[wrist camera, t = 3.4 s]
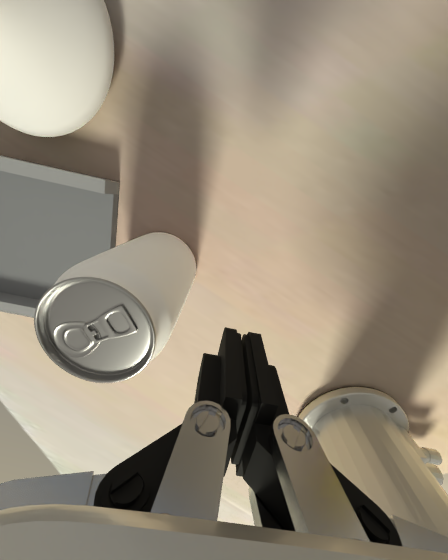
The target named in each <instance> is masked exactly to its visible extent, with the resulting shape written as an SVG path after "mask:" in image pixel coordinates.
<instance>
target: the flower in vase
mask: <svg viewBox="0 0 448 560" xmlns="http://www.w3.org/2000/svg"><path fill="white" fill-rule="evenodd" d="M113 68H114V39H113V31H112V26H111V22H110V17H109V14H108V11H107V8H106V4H105V2H104V0H0V121H1V122H3V123H5V124H6V125H8V126H10V127H11V128H14V129H16V130H18V131H20V132H23V133H26V134H30V135H33V136H40V137H56V136H63V135H66V134H69V133H72V132H74V131H76V130H78V129H79V128H81V127H82V126H84V125H85V124H86V123H88V122H89V121H90V120H91V119H92V118H93V117H94V116H95V114H96V113H97V112H98V110H99V109H100V107H101V106H102V104H103V102H104V100H105V98H106V96H107V93H108V90H109V88H110V85H111V80H112V75H113Z"/></svg>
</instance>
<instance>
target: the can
mask: <svg viewBox="0 0 448 560" xmlns="http://www.w3.org/2000/svg"><path fill="white" fill-rule="evenodd" d="M195 276H196V262H195V258H194V255H193V253H192V251H191V250H190V248H189V247H188V246H187V245H186V244H185V243H184V242H183V241H182V240H181V239H179V238H178V237H176V236H174V235H171V234H168V233H163V232H154V233H149V234H146V235H143V236H140V237H138V238H135V239H133V240H131V241H128V242H126V243H124V244H121V245H119V246H116V247H114V248H112V249H109V250H107V251H105V252H102V253H100V254H98V255H96V256H93V257H91V258H89V259H87V260H84V261H82V262H80V263H78V264H76V265H74V266H73V267H71V268H70V269H68V270H67V271H65V272H64V273H63V274H62V275H61V276H60V277H59V278H58V280H57V281H56V283H55V284H54V285H53V286H52V287H51V288H49V289H48V290H47V291H46V292H45V293H44V294H43V296H42V297H41V299H40V300H39V302H38V304H37V307H36V310H35V316H34V325H35V331H36V335H37V338H38V340H39V343H40V345H41V346H42V348H43V350H44V351H45V353H46V354H47V355H48V356H49V358H50V359H51V360H52V361H53V362H54V363H55V364H57V365H58V366H59V367H60V368H62V369H63V370H65V371H66V372H68V373H70V374H71V375H73V376H76V377H78V378H81V379H83V380H87V381H91V382H97V383H115V382H120V381H124V380H127V379H129V378H131V377H133V376H135V375H137V374H138V373H139V372H141V371H142V370H143V369H144V368H145V367H146V366H147V364H148V363H149V362H150V361H151V360H152V359H154V358H155V357H156V356H157V355H158V354H159V353H160V352H161V351H162V350H163V348H164V347H165V345H166V344H167V342H168V340H169V338H170V336H171V334H172V331H173V329H174V327H175V325H176V322H177V320H178V318H179V315H180V313H181V311H182V308H183V306H184V304H185V301H186V299H187V297H188V294H189V292H190V289H191V287H192V285H193V282H194V279H195Z"/></svg>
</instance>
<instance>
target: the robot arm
mask: <svg viewBox="0 0 448 560" xmlns="http://www.w3.org/2000/svg"><path fill="white" fill-rule="evenodd" d="M230 458H231V463H232V464H236V476H243V479H244V480H245V481H246V483H247V484H248V485H249V499H250V504H251V509H252V514H253V519H254V524H255V526H250V525H243V524H235V523H228V522H220V521H217V518H218V511H219V504H220V497H221V490H222V483H223V477H224V476H225V473H226V470H227V467H228V464H229V461H230ZM441 462H442V458H441V455H440V453H439V452H438V451H437V450H434V449H429V448H423V447H422V448H420V447H418V445H417V444H416V443H415V441H414V440H413V439H412V437H411V436H410V435H409V421H408V418H407V416H406V413H405V412H404V411H403V410H402V408H401V407H400V406H399V404H398V403H397V402H396V401H395V400H394V399H393V398H392V397H390V396H389V395H387V394H385V393H383V392H381V391H378V390H376V389H371V388H366V387H349V388H341V389H337V390H334V391H331V392H328V393H326V394H324V395H321V396H320V397H318V398H317V399H315V400H313V401H312V402H311V403H310V404H309V405H308V406H306V407H305V408H304V410H303V411H302V412H301V414H300V415H299V417H296V416H293V415H289V412H288V409H287V405H286V402H285V398H284V395H283V391H282V388H281V384H280V381H279V377H278V374H277V370H276V368H275V366H272V365H268V361H267V357H266V353H265V349H264V345H263V341H262V337H261V334H256V333H251V332H248V334H247V335H245V334H244V335H243V337H242V341H241V334H240V333H237V330H235V329H230V328H224V332H223V336H222V340H221V344H220V348H219V352H218V356H217V355H211V354H206V353H204V354H203V358H202V363H201V367H200V372H199V377H198V383H197V389H196V396H195V402H194V404H193V405H192V406H191V407H190V408H189V409H188V411H187V413H186V415H185V418H184V421H183V423H182V424H181V425H179V426H178V427H176V428H175V429H173V430H172V431H170V432H168V433H167V434H165V435H164V436H162V437H161V438H159V439H158V440H156V441H154V442H153V443H151V444H150V445H148V446H147V447H145V448H143V449H142V450H140V451H139V452H137V453H136V454H134V455H133V456H131V457H129V458H128V459H126V460H125V461H123V462H122V463H120V464H119V465H117V466H115V467H114V468H113V469H112V470H110V471H109V472H108V473H107V474H100V475H93V473H94V471H91V472H81V473H72V474H63V475H54V476H45V477H35V478H26V479H17V480H12V481H9V482H4V483H1V484H0V560H448V495H447V493H446V492H445V491H444V489H443V488H442V487H441V485H442V484H443V476H442V473H441V471H440V469H439V468H438V467H437V466H436V465H440V464H441ZM434 464H436V465H434Z"/></svg>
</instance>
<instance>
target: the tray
mask: <svg viewBox="0 0 448 560" xmlns="http://www.w3.org/2000/svg"><path fill="white" fill-rule="evenodd" d="M119 185H120V182H117V181H113V180H108V179H104V178H99V177H95V176H90V175H86V174H82V173H77V172H73V171H68V170H64V169H59V168H55V167H51V166H46V165H42V164H37V163H33V162H28V161H24V160H19V159H15V158H11V157H6V156H2V155H0V311H2V312H7V313H12V314H17V315H22V316H27V317H33V318H34V316H35V310H36V307H37V304H38V302H39V300H40V299H41V297H42V296H43V294H44V293H45V292H46V291H47V290H48V289H49V288H51V287H52V286H53V285H54V284H55V283H56V281H57V280H58V278H59V277H60V276H61V275H62V274H63V273H64V272H65V271H67V270H68V269H70V268H71V267H73V266H74V265H76V264H78V263H80V262H82V261H84V260H87V259H89V258H91V257H93V256H96V255H98V254H100V253H102V252H105V251H107V250H109V249H112V248H114V247H115V244H116V229H117V215H118V200H119Z"/></svg>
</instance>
